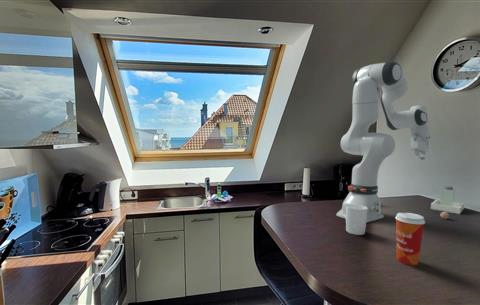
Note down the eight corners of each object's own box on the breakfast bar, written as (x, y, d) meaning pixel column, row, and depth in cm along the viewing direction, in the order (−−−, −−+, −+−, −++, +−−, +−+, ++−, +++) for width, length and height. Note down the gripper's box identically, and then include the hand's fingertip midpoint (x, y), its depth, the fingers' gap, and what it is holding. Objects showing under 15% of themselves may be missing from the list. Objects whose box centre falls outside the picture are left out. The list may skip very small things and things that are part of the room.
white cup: (365, 230, 109) (366, 205, 108) (367, 236, 101) (369, 210, 101) (344, 227, 111) (345, 203, 110) (344, 233, 104) (346, 208, 103)
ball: (448, 220, 124) (448, 213, 123) (439, 218, 126) (439, 211, 126) (449, 218, 126) (449, 212, 126) (440, 217, 128) (441, 210, 128)
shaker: (451, 209, 139) (453, 188, 139) (441, 207, 143) (442, 186, 142) (453, 208, 143) (454, 187, 142) (442, 206, 146) (444, 185, 145)
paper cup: (387, 255, 86) (389, 211, 85) (410, 255, 86) (413, 211, 85) (404, 267, 78) (407, 219, 77) (429, 267, 79) (432, 219, 78)
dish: (459, 214, 134) (460, 208, 133) (430, 209, 142) (431, 203, 142) (463, 209, 143) (464, 203, 143) (436, 204, 152) (436, 199, 152)
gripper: (420, 131, 143) (421, 158, 142) (430, 136, 157) (431, 160, 156) (407, 133, 148) (408, 158, 147) (417, 137, 162) (418, 160, 161)
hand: (420, 159), depth 151 cm, fingers open, 8 cm apart
